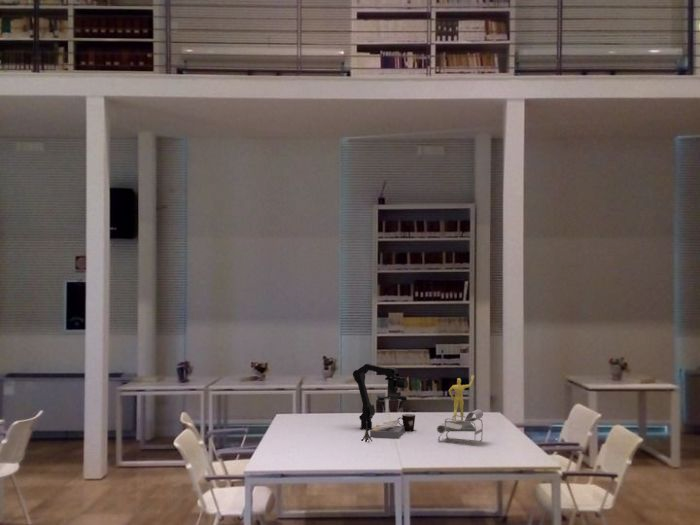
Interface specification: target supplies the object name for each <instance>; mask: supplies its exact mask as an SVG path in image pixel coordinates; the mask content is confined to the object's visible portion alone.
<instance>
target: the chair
mask: <svg viewBox="0 0 700 525" xmlns="http://www.w3.org/2000/svg"><path fill="white" fill-rule="evenodd" d="M474 415H475V417H474ZM454 416H456V417H458V418H459V417H460V418H461V417H463V418H465V419H464V420H463V422H464V423H463V425H459V424H454V423H450V422H447V423H446V421H448V420H449V421H454V420H456V421H462V420H460V419H454ZM483 416H484V412H483V411H482V410H481V409H479V408H478V409H475V410H473V411H471V412H468V413H467V415H466V416H464V415H463V416H461V415H454V414H453V416H452V418H448V417H447V418H445V419H444V423H441V424H439V425H438V426H437V427H436V431H437V433H439V434H440V435H439V436H438V439H437V440H438V442H439V443H443V444H444V443H445V444H452V443H453V444H455V445H462V443H459V442H452V441H451V442H449V441H441V439H440V438H441V436H442V435H443V434H444V433H445V432H446V434H445V436H446V439H448V440H456V438H453V437H449V436H448V434H449V432H451V431H450V430H451V429H452V428H453V429H462V428H464V427H466V426H468V425H469V423H471V424H472V425H473V427H474V428H475V431H474V436H476V435H478V434H480V433H483V426H484V425H483V420H482V419H481V418H482V417H483ZM477 420H479V421H481V429H479V430H477V428H476V423H475V421H477ZM446 427H449V428H447V429H446ZM447 430H449V431H447ZM480 437H481V439H480V440H476V438H474V439H468V440H469V442H474V443H473V444H471V443H464V444H465V446H474V445H476V442H478V441H479V443H480V442H482V441H483V435H481V436H480ZM458 439H459V441H467V439H464V438H458Z"/></svg>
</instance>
